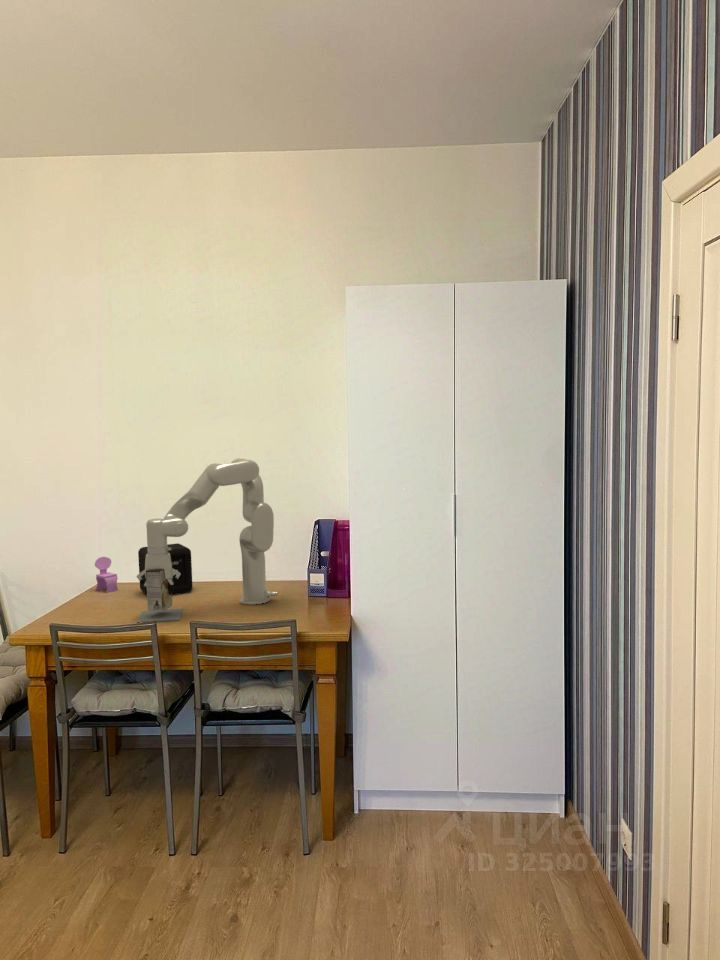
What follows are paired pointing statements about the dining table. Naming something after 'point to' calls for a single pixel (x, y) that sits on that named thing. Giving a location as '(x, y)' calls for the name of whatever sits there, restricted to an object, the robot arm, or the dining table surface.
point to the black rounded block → (179, 563)
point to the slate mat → (160, 615)
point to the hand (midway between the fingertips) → (159, 594)
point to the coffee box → (157, 590)
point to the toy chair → (105, 575)
